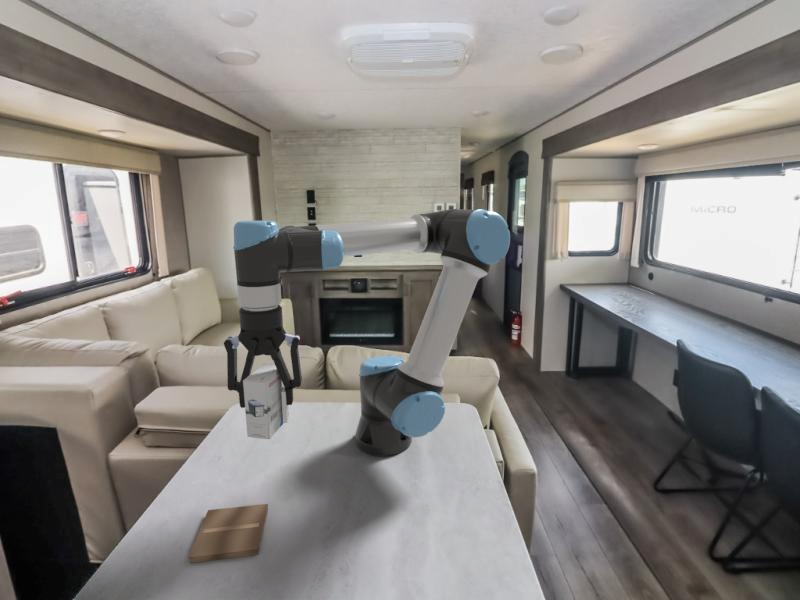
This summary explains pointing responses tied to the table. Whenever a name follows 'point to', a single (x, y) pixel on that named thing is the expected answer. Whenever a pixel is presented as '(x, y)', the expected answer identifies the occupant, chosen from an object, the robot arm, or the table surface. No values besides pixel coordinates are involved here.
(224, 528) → the cardboard box
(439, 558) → the table surface
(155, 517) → the table surface
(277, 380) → the ink box
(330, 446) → the table surface
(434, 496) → the table surface
